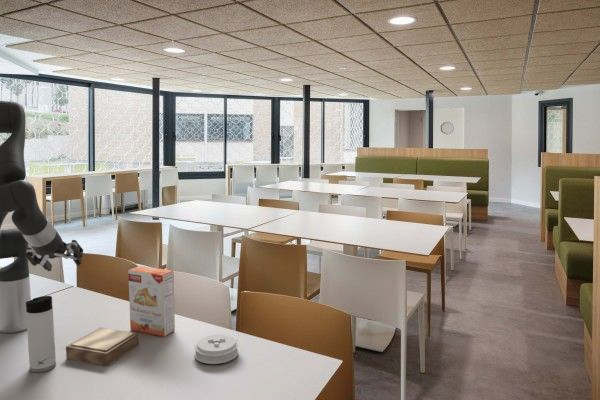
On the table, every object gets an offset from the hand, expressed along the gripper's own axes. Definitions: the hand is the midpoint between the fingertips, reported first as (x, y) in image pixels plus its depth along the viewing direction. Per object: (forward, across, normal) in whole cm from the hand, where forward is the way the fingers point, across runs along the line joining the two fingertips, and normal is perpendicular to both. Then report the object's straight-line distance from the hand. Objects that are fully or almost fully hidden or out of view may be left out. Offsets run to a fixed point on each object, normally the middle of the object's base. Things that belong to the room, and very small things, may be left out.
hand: (64, 266), depth 137 cm
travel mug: (+6, +4, +29) cm, 30 cm away
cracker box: (+23, -21, +16) cm, 35 cm away
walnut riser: (+13, -9, +24) cm, 29 cm away
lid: (+13, -42, +33) cm, 55 cm away
